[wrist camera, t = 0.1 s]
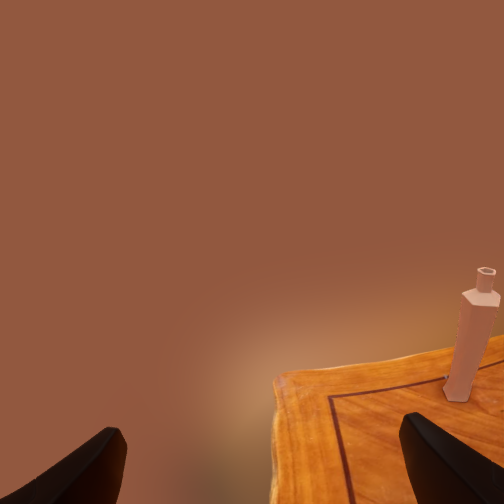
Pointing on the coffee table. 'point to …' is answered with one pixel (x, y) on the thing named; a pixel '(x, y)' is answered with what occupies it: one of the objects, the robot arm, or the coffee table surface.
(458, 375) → the perfume bottle
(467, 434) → the coffee table surface
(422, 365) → the coffee table surface
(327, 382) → the coffee table surface
